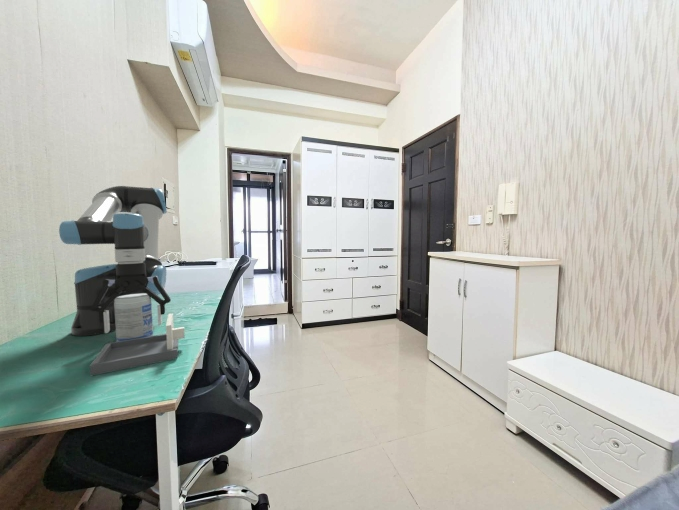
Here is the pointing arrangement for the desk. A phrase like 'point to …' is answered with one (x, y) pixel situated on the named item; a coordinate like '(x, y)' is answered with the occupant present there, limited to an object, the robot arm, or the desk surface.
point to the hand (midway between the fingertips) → (134, 328)
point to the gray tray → (133, 354)
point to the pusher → (173, 332)
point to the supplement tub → (133, 316)
